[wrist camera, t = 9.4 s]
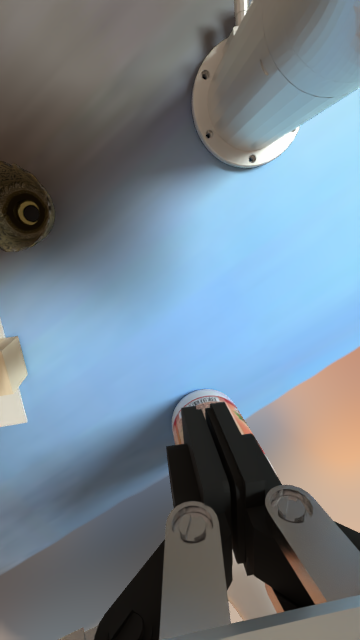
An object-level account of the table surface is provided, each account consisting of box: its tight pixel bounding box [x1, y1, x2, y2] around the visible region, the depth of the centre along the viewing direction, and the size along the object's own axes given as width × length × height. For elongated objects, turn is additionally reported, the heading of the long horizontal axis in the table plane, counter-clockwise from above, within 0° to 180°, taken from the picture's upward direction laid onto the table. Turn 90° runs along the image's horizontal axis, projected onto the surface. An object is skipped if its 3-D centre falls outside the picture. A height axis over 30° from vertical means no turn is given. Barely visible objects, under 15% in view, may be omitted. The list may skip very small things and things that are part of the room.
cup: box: [0, 161, 55, 252], centre depth 31 cm, size 8×7×8 cm
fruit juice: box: [172, 389, 277, 621], centre depth 31 cm, size 9×9×28 cm
